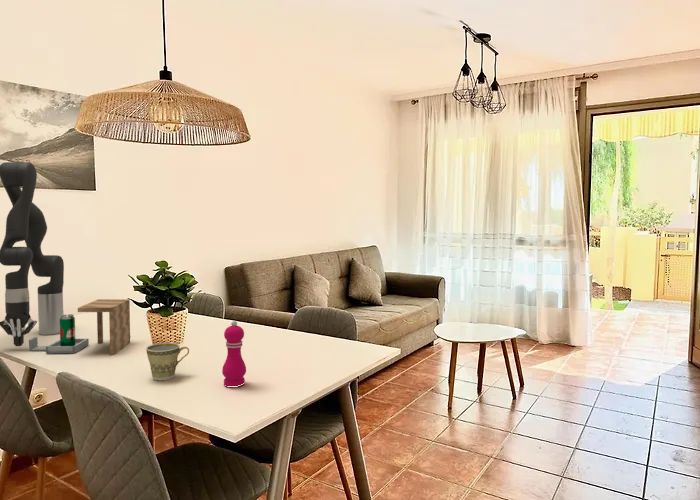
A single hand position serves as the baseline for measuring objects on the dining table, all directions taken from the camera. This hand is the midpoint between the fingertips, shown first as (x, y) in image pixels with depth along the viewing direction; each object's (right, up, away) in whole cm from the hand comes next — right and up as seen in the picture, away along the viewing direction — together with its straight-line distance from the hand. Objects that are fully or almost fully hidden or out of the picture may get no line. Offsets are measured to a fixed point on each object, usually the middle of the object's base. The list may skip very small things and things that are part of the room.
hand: (18, 345), depth 190 cm
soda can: (+17, -1, +2) cm, 18 cm away
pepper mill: (+89, -6, -34) cm, 95 cm away
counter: (+31, -2, +4) cm, 31 cm away
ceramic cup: (+66, -5, -27) cm, 72 cm away
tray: (+14, -1, +1) cm, 14 cm away
